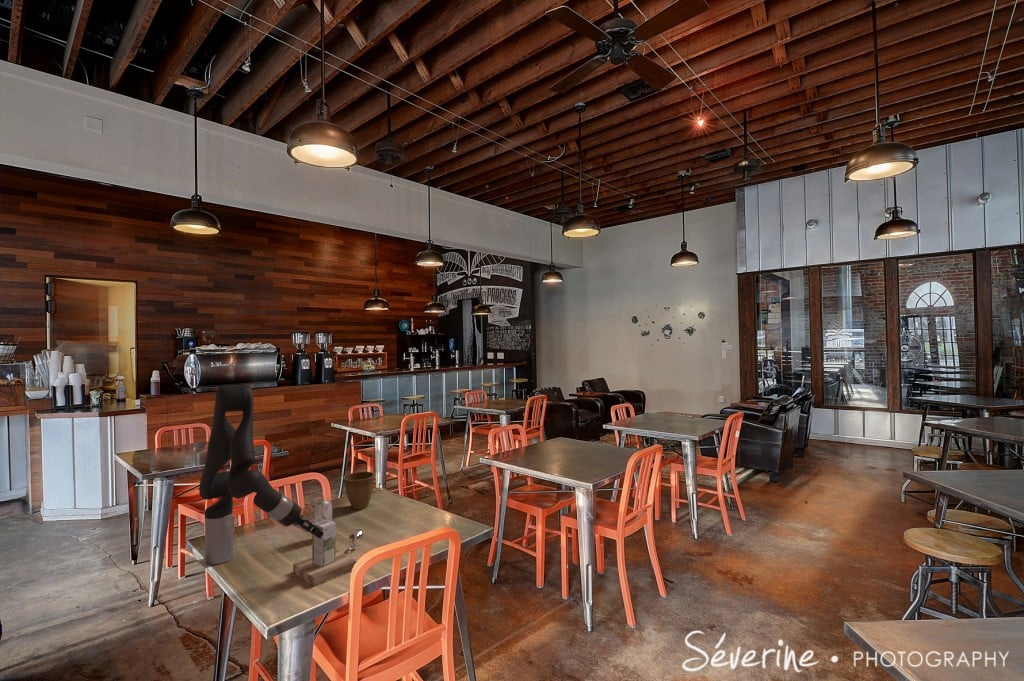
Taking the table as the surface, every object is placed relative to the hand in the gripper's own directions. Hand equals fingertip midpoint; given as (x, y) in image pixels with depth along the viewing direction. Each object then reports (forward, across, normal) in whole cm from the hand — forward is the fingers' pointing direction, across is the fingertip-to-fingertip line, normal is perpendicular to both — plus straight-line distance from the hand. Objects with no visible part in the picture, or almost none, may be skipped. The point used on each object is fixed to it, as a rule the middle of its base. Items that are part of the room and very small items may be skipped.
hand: (315, 532), depth 173 cm
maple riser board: (+13, 0, +8) cm, 15 cm away
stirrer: (+27, +14, -6) cm, 31 cm away
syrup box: (+10, 0, +6) cm, 12 cm away
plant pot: (+44, +50, -23) cm, 70 cm away
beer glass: (+23, +28, -2) cm, 36 cm away
